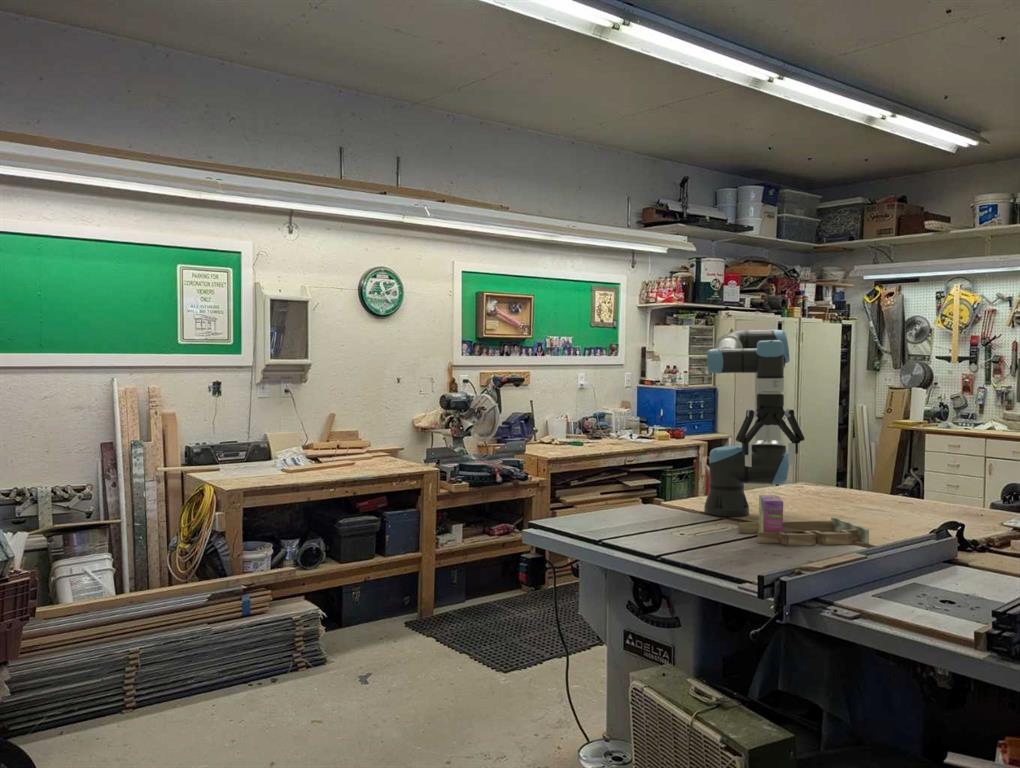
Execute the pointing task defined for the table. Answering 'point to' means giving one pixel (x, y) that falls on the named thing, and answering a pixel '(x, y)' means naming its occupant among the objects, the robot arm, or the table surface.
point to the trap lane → (810, 532)
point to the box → (770, 513)
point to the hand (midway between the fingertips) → (770, 465)
